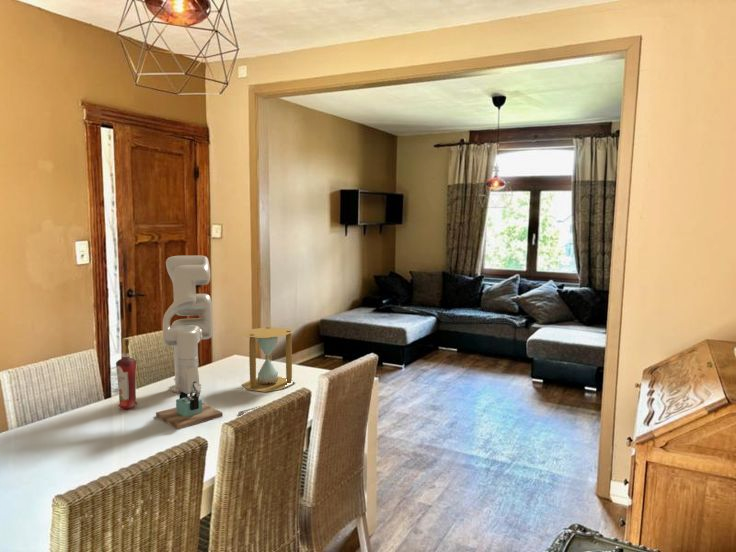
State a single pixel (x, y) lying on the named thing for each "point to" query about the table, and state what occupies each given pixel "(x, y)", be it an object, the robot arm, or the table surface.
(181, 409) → the teal collar
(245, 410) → the adjustable wrench
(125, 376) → the liquor
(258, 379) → the hourglass
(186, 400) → the steel post
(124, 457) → the table surface
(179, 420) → the walnut board
